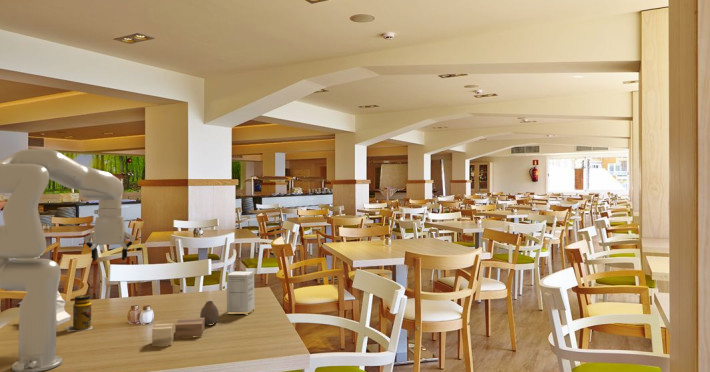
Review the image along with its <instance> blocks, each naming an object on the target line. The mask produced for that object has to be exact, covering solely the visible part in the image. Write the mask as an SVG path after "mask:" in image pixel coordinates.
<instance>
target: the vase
mask: <svg viewBox="0 0 710 372" xmlns="http://www.w3.org/2000/svg"><path fill="white" fill-rule="evenodd" d="M218 309H219V308H218V307H217V306H216V305H215V303H214V301H213V300H208V301H206V302H205V304H204V305H203V307H202V308H201V310H200V313H199V318H205V324H213V323H215V324H216V323H217V322H218V320H219V316H220V313H219V310H218Z"/></svg>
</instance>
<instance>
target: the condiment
mask: <svg viewBox="0 0 710 372" xmlns="http://www.w3.org/2000/svg"><path fill="white" fill-rule="evenodd" d="M72 308H73V311H72V312H73V313H72V325H71V326H66V327H65V330H66V332H67V333H70V332H76V331H87V330H93V329H94V327H93V326H92V302H91V296H90V295H89V294H81V295H76V296H75V297H74V304H73V305H72Z"/></svg>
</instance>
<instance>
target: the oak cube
mask: <svg viewBox="0 0 710 372" xmlns="http://www.w3.org/2000/svg"><path fill="white" fill-rule="evenodd" d="M151 332H152V333H151V334H152V337H151V338H152V339H151V340H152V341H151V342H152V343H151V344H152V345H151V347H152V346H159V347H168V346H167V345H171V346H172V345H173V343H174V323H161V324H159V323H157V324H154V326H153V327H152V331H151ZM172 342H173V343H172Z"/></svg>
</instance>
